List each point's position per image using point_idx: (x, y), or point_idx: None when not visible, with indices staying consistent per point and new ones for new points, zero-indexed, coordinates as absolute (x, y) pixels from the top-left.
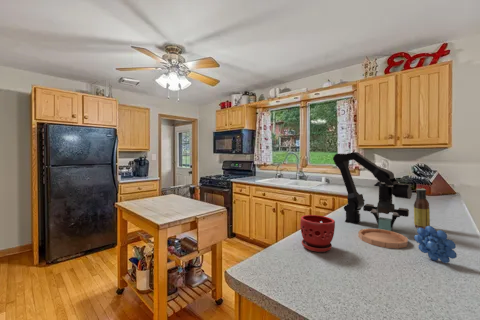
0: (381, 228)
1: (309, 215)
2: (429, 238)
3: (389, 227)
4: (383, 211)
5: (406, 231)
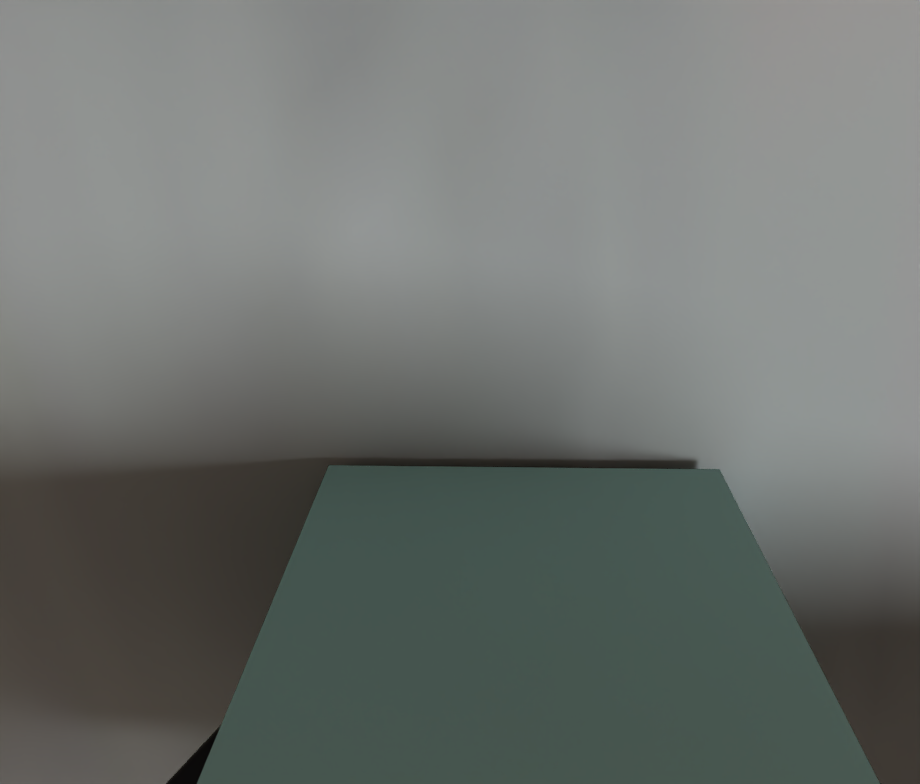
0: (624, 499)
1: None
2: None
3: (326, 555)
4: None
5: (22, 725)
